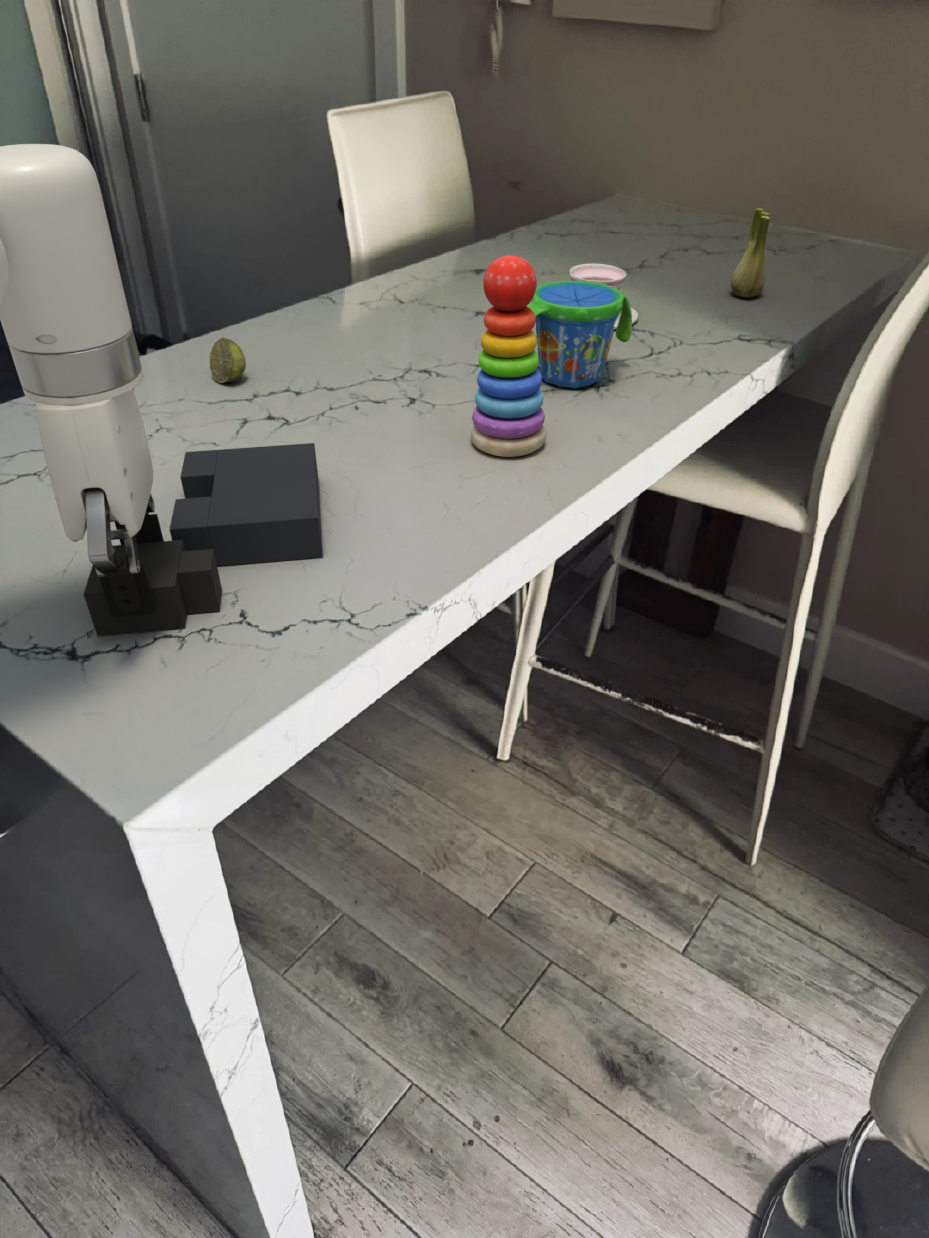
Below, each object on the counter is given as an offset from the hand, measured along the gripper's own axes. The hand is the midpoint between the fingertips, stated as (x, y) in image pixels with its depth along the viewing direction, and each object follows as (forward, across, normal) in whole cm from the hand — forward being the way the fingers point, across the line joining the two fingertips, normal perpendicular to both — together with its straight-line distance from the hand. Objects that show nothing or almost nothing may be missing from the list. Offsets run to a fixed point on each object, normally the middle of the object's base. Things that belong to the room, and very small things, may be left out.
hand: (140, 583), depth 68 cm
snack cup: (+3, -40, +45) cm, 60 cm away
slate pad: (+2, -12, +8) cm, 15 cm away
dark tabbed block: (+2, 0, +1) cm, 3 cm away
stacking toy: (+2, -24, +34) cm, 42 cm away
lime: (+2, -46, +4) cm, 46 cm away
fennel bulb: (+3, -67, +79) cm, 104 cm away
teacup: (+3, -61, +54) cm, 82 cm away
